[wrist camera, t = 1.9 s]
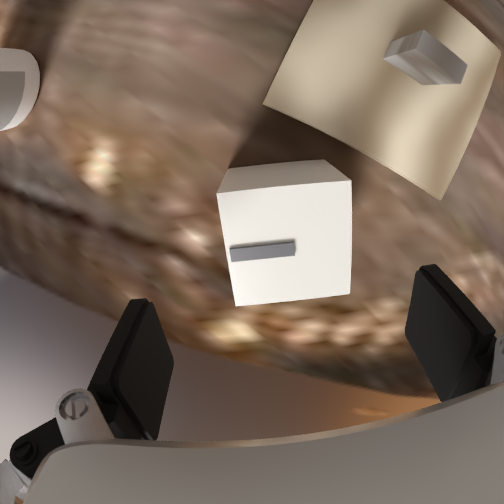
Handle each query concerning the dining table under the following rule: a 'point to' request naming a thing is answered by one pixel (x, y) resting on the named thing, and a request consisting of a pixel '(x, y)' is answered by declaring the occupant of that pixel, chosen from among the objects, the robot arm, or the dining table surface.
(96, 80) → the dining table surface
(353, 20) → the beige square plate
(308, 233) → the white slotted cube
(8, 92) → the white plastic bottle
